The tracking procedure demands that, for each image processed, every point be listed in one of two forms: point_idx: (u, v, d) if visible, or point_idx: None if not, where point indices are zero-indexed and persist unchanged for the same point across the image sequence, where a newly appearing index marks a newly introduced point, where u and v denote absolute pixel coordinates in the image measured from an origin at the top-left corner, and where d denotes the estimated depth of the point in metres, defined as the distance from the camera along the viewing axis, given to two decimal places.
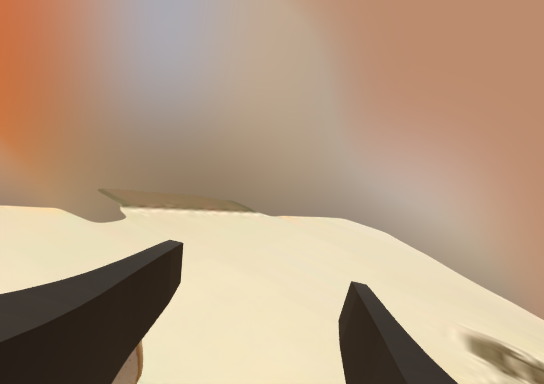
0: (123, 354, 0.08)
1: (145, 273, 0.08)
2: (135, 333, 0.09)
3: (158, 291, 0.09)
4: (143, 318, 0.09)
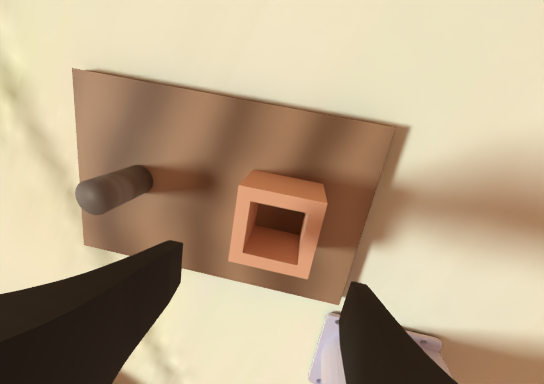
0: (123, 353, 0.08)
1: (145, 273, 0.08)
2: (135, 333, 0.09)
3: (158, 291, 0.09)
4: (143, 318, 0.09)
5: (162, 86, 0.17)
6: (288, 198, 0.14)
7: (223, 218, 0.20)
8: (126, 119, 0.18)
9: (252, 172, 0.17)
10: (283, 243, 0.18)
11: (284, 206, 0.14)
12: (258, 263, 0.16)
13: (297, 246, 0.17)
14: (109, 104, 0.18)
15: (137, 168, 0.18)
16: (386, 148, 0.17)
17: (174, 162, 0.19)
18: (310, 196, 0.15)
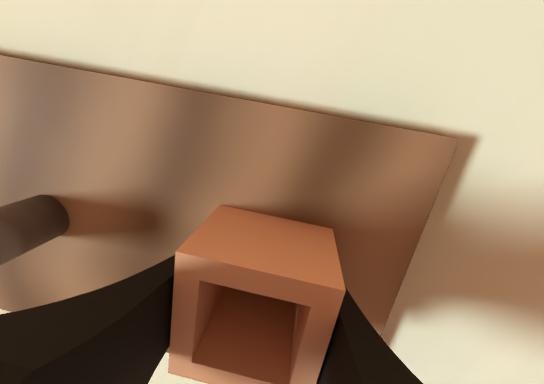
0: (153, 362, 0.08)
1: None
2: (164, 340, 0.09)
3: None
4: None
5: (67, 70, 0.10)
6: (270, 278, 0.07)
7: None
8: (18, 124, 0.11)
9: (216, 211, 0.11)
10: (267, 327, 0.11)
11: (262, 291, 0.08)
12: (221, 380, 0.09)
13: (290, 332, 0.11)
14: None
15: (37, 202, 0.12)
16: (441, 174, 0.10)
17: (98, 191, 0.12)
18: (312, 270, 0.08)
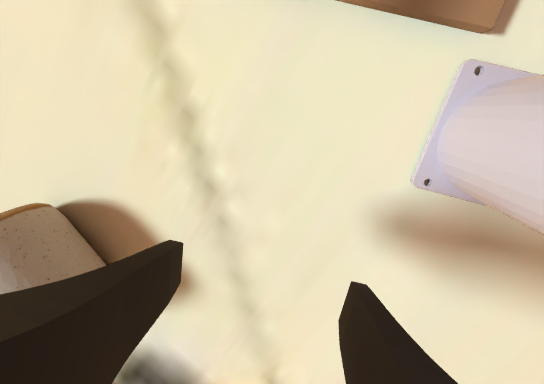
0: (123, 354, 0.08)
1: (145, 273, 0.08)
2: (135, 333, 0.09)
3: (158, 291, 0.09)
4: (143, 318, 0.09)
5: None
6: None
7: None
8: None
9: None
10: None
11: None
12: None
13: None
14: None
15: None
16: None
17: None
18: None
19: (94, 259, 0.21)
